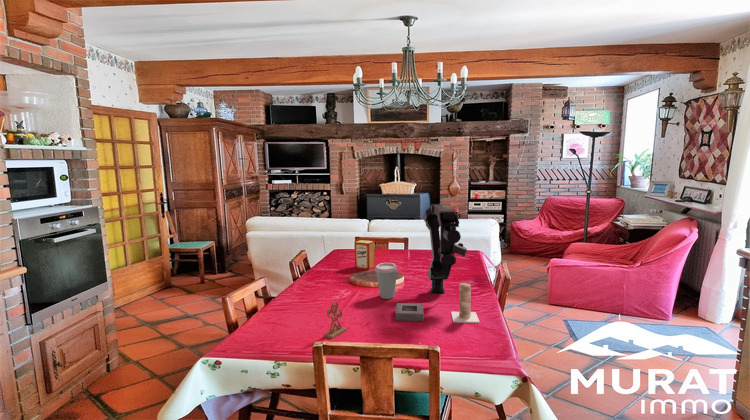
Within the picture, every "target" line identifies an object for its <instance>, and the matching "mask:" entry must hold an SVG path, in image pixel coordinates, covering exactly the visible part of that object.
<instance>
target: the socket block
mask: <svg viewBox="0 0 750 420" xmlns="http://www.w3.org/2000/svg"><path fill="white" fill-rule="evenodd" d="M394 313H395V321H404V322H407V321H409V322H413V321H414V322H424V317H425V316H424V315H425V314H424V303H407V302H406V303H402V302H401V303H400V302H397V303H396V307H395V312H394Z"/></svg>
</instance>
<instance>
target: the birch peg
mask: <svg viewBox="0 0 750 420" xmlns="http://www.w3.org/2000/svg"><path fill="white" fill-rule="evenodd" d="M458 285H459V290H458V291H459V295H458V296H459V301H458V303H459V306H458V308H459V310H458V312H459V317H460V318H464V319H468V318H470V316H471V312H472V311H471V309H472V308H471V307H472V305H471V298H472V297H471V296H472V294H471V292H472V288H471V287H472V285H471V284H470V283H466V282H464V283H463V282H462V283H459V284H458Z"/></svg>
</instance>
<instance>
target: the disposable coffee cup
mask: <svg viewBox="0 0 750 420" xmlns="http://www.w3.org/2000/svg"><path fill="white" fill-rule="evenodd" d="M374 272H375V274H376V280H377V281H376V282H377V285H378V287H377V288H378V293H379V296H380V299H381V298H382V299H392V298H394V297H395V293H396V292H395V291H396V284H397V274H398V266H397V264H396V263H393V262H382V263H378V264H377V265H375V268H374Z"/></svg>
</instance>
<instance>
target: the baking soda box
mask: <svg viewBox="0 0 750 420" xmlns="http://www.w3.org/2000/svg"><path fill="white" fill-rule="evenodd" d="M375 258H376V257H375V241H374V240H373V241H372V240H364V239H363V240H362V239H359V240H357V241H354V268H355V269H359V270H365V271H370V270H373V269H375V267H376V265H375V264H376V263H375Z"/></svg>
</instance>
